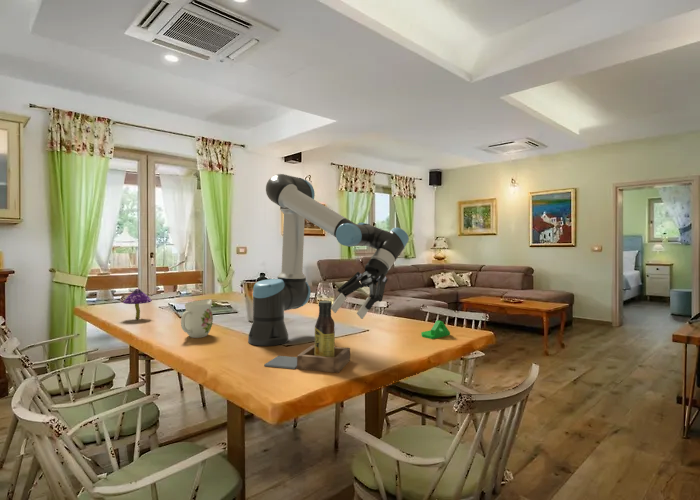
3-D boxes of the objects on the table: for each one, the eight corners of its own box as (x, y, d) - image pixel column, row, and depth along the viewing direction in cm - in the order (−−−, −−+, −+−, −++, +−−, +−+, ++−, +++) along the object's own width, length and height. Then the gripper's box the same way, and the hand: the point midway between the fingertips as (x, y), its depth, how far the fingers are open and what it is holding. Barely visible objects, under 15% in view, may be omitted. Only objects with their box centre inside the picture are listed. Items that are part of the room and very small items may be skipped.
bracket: (435, 332, 174) (435, 316, 174) (450, 335, 168) (450, 319, 168) (416, 336, 167) (417, 320, 167) (431, 340, 161) (432, 322, 161)
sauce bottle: (314, 361, 129) (314, 299, 128) (333, 361, 129) (334, 299, 129) (314, 367, 122) (314, 302, 122) (334, 367, 123) (335, 302, 122)
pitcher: (169, 340, 154) (169, 304, 154) (199, 330, 172) (199, 298, 172) (194, 342, 152) (194, 306, 151) (221, 332, 169) (221, 299, 169)
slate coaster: (264, 366, 123) (264, 364, 123) (278, 357, 133) (278, 355, 133) (294, 369, 121) (294, 367, 121) (306, 359, 130) (306, 358, 130)
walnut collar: (297, 368, 121) (297, 355, 121) (312, 357, 134) (312, 345, 134) (338, 372, 118) (338, 359, 118) (349, 360, 130) (349, 348, 130)
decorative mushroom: (118, 319, 195) (118, 288, 194) (145, 316, 204) (145, 286, 204) (129, 323, 187) (129, 290, 186) (156, 319, 196) (156, 288, 196)
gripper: (412, 274, 131) (378, 326, 121) (361, 270, 150) (329, 314, 141) (400, 258, 127) (365, 311, 118) (350, 256, 146) (316, 301, 137)
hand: (345, 313), depth 129 cm, fingers open, 13 cm apart
